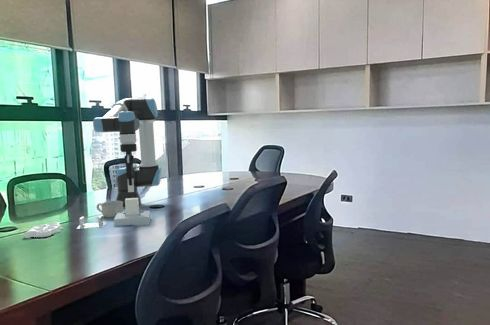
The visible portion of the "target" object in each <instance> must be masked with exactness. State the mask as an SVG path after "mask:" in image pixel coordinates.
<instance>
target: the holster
mask: <svg viewBox="0 0 490 325" xmlns="http://www.w3.org/2000/svg"><path fill="white" fill-rule="evenodd" d="M97 217H98V218H97V219H98V222H88V223H86V222H85V220H86V219H85V216H81V217H79V225H78V226H77V227H76V230H78V229H79V230H80V229H92V228H103V227H104V226H105V225H106V224H107V221H104V216H103V214H100V215H99V216H97Z"/></svg>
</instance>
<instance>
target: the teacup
mask: <svg viewBox="0 0 490 325" xmlns="http://www.w3.org/2000/svg"><path fill="white" fill-rule="evenodd" d="M100 207H101V208H100ZM96 209H97V210H98V212H100V213H101V215H103V218H104V217H105V218H107V219H108V218H109V219H110V218H111V219H112V218H113V219H114V218H115V216H116V215H117V213H124V206H123V202H122V201H116V200H109V201H104V202H102V203H100V202H99V203H97V205H96Z"/></svg>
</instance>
